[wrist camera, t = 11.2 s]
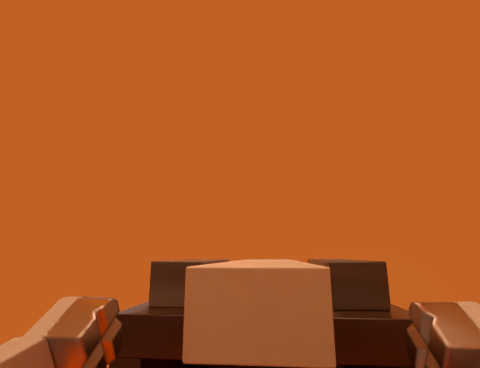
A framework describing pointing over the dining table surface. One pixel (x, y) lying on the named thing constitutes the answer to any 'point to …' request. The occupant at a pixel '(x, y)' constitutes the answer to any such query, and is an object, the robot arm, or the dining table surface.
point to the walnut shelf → (347, 364)
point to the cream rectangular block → (259, 314)
